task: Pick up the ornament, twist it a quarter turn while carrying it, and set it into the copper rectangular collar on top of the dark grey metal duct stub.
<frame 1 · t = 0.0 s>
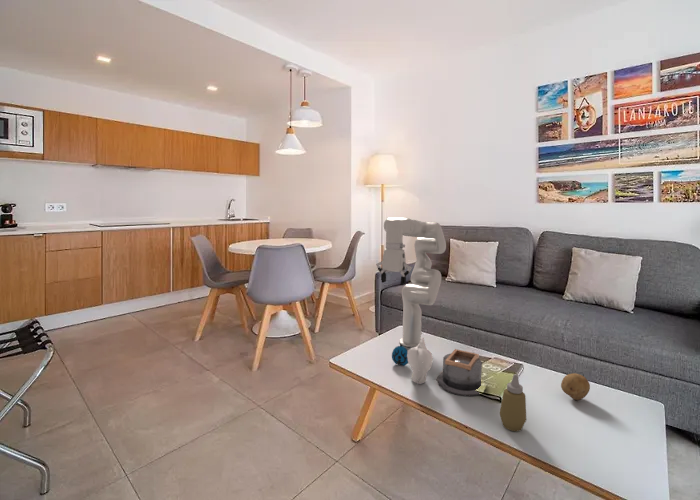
hand: (393, 283, 164), 37 cm above the table, tool pointing down, fingers open, 9 cm apart
shell sculpture: (419, 382, 148), on the table
duct stub: (461, 384, 146), on the table
natural sponge: (573, 399, 135), on the table
squeeze bottle: (512, 426, 118), on the table
ornament: (400, 365, 163), on the table
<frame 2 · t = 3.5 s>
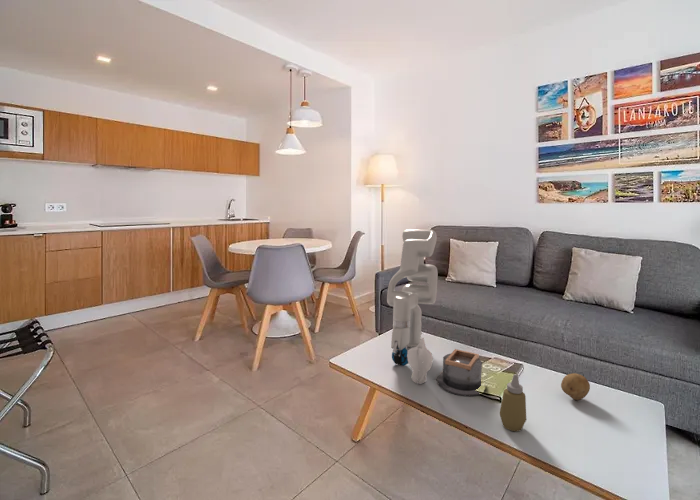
hand: (400, 361, 162), 2 cm above the table, tool pointing down, fingers closed on ornament, 4 cm apart
ornament: (400, 365, 163), on the table, touching gripper
everything else where it was.
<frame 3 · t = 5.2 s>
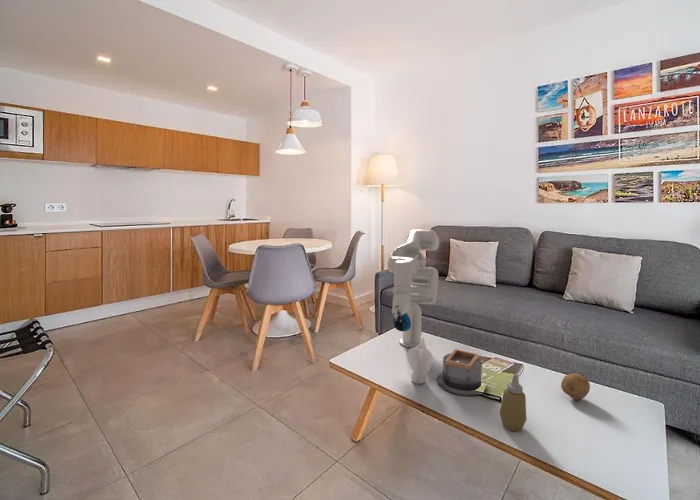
hand: (401, 327, 161), 18 cm above the table, tool pointing down, fingers closed on ornament, 4 cm apart
ornament: (401, 331, 161), point 16 cm above the table, touching gripper
everything else where it was.
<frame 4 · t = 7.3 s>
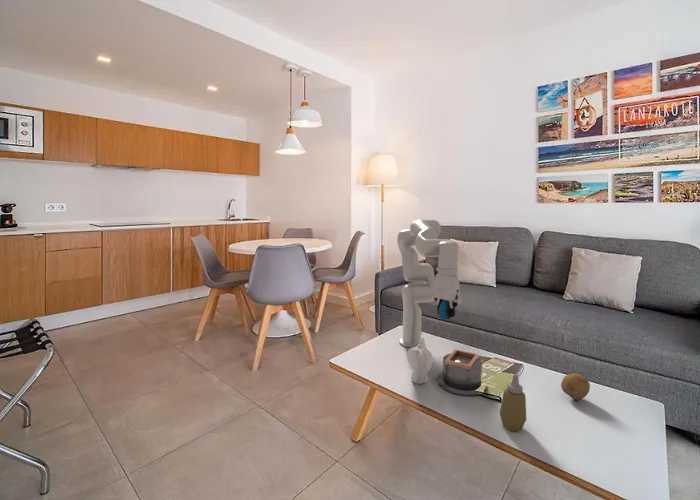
hand: (445, 314, 147), 28 cm above the table, tool pointing down, fingers closed on ornament, 4 cm apart
ornament: (445, 319, 147), point 26 cm above the table, touching gripper
everything else where it was.
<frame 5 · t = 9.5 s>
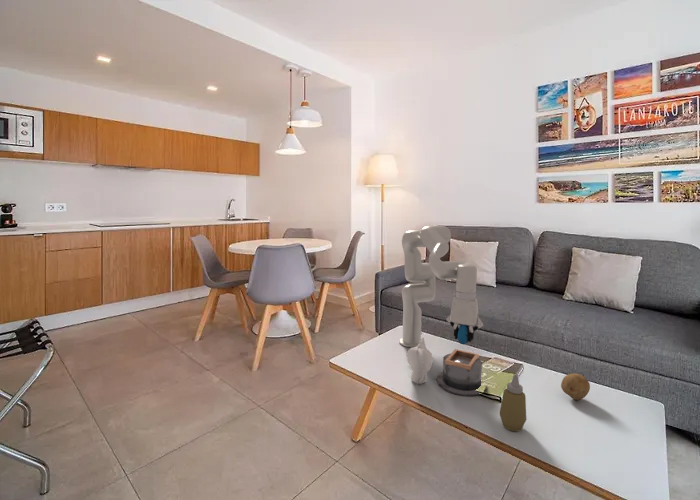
hand: (463, 339, 144), 19 cm above the table, tool pointing down, fingers closed on ornament, 4 cm apart
ornament: (463, 344, 144), point 17 cm above the table, touching gripper
everything else where it was.
when the fingers open (13 cm above the table, at t = 11.1 s): ornament stays where it is, resting on duct stub.
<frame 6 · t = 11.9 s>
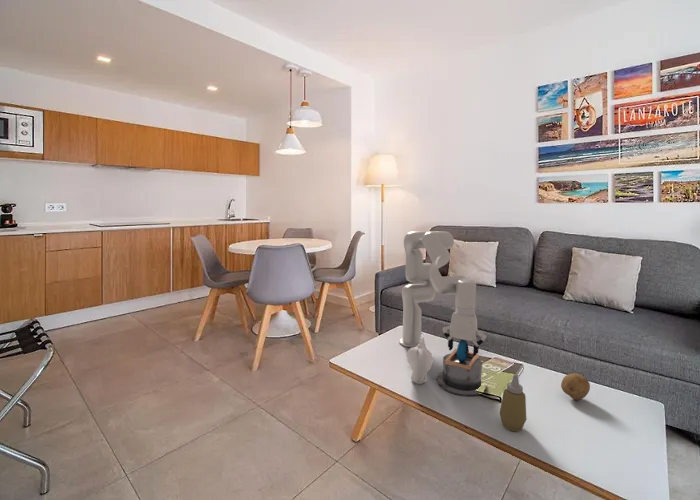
hand: (462, 351, 144), 14 cm above the table, tool pointing down, fingers open, 9 cm apart
ornament: (462, 361, 145), point 10 cm above the table, touching duct stub
everything else where it was.
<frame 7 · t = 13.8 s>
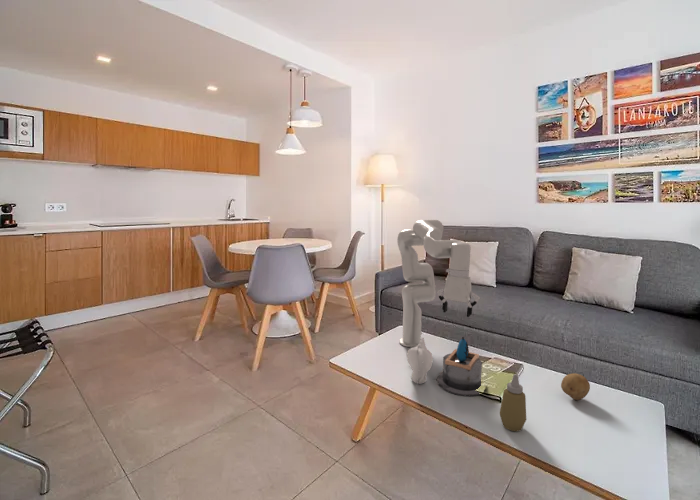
hand: (456, 313, 147), 28 cm above the table, tool pointing down, fingers open, 9 cm apart
nothing on the table moved.
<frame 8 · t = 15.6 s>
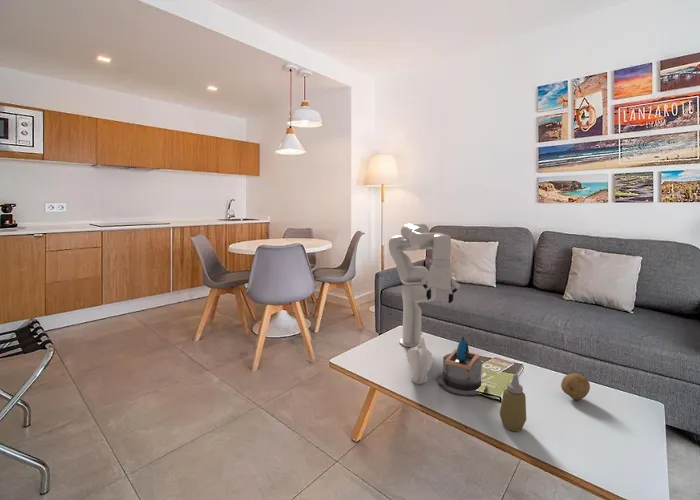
hand: (439, 300, 159), 30 cm above the table, tool pointing down, fingers open, 9 cm apart
nothing on the table moved.
at the end: ornament 0.1 cm off-centre on the duct stub, point 9.8 cm above the duct stub's base; ornament tilted 0°; the gripper is holding nothing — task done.
